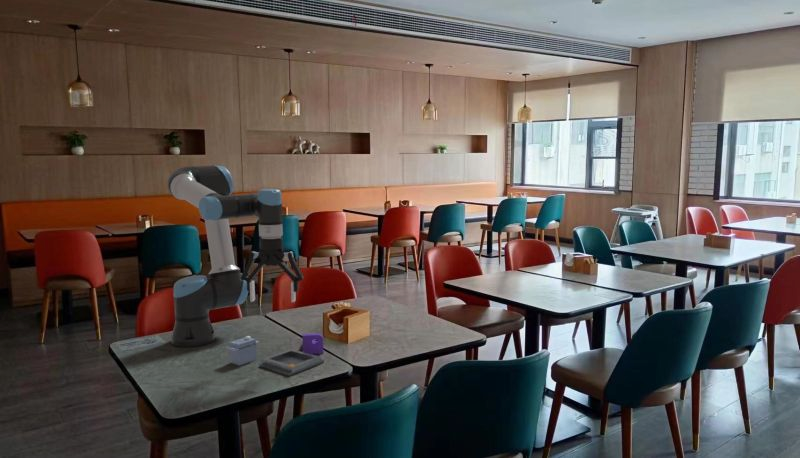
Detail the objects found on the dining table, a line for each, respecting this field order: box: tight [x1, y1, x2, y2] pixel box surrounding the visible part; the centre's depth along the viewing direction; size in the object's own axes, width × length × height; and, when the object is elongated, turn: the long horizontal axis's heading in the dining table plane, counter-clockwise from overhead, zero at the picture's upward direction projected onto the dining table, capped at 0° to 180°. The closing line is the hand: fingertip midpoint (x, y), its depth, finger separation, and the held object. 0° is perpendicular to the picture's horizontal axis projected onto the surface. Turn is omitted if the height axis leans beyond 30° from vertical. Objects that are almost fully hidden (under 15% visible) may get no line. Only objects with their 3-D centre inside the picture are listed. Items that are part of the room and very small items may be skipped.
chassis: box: [258, 348, 325, 377], centre depth 194 cm, size 14×15×3 cm
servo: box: [225, 335, 261, 366], centre depth 198 cm, size 4×10×8 cm, turn 142°
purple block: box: [301, 332, 324, 355], centre depth 210 cm, size 12×7×7 cm, turn 8°
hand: (273, 301), depth 198 cm, fingers open, 13 cm apart
